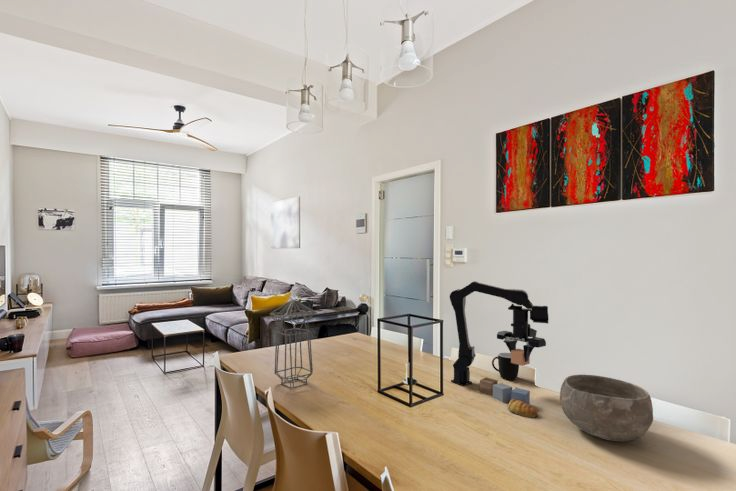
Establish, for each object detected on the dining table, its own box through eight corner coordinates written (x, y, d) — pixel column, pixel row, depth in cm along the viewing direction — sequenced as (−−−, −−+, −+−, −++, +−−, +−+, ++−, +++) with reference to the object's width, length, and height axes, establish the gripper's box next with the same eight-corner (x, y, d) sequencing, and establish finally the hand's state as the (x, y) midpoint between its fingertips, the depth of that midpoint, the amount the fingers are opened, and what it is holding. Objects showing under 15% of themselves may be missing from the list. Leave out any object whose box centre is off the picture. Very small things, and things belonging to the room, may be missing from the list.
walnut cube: (491, 396, 147) (491, 383, 147) (479, 392, 151) (479, 380, 151) (497, 393, 151) (497, 380, 151) (485, 389, 154) (486, 377, 154)
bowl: (658, 464, 100) (658, 407, 100) (556, 439, 113) (556, 389, 113) (649, 429, 120) (648, 381, 121) (563, 411, 133) (563, 368, 134)
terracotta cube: (522, 365, 149) (522, 353, 149) (511, 362, 153) (511, 350, 153) (529, 363, 152) (529, 351, 152) (518, 360, 156) (518, 348, 156)
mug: (522, 377, 169) (522, 355, 170) (515, 382, 162) (515, 359, 163) (495, 372, 177) (495, 350, 177) (488, 376, 170) (488, 354, 170)
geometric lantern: (286, 393, 147) (285, 303, 148) (268, 383, 159) (267, 300, 160) (320, 384, 157) (319, 299, 158) (300, 375, 169) (299, 297, 170)
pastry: (540, 414, 131) (540, 403, 131) (532, 420, 126) (532, 409, 126) (514, 406, 138) (514, 396, 138) (505, 412, 133) (505, 401, 133)
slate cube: (502, 402, 141) (502, 389, 141) (492, 397, 145) (492, 384, 145) (512, 400, 143) (512, 387, 143) (502, 395, 148) (502, 382, 148)
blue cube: (525, 408, 136) (525, 394, 136) (511, 404, 139) (511, 391, 139) (529, 404, 139) (529, 390, 139) (515, 401, 143) (515, 387, 143)
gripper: (553, 323, 150) (553, 362, 150) (512, 316, 165) (511, 352, 165) (537, 325, 144) (537, 367, 143) (496, 318, 159) (495, 355, 159)
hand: (520, 360), depth 153 cm, fingers closed on terracotta cube, 5 cm apart
